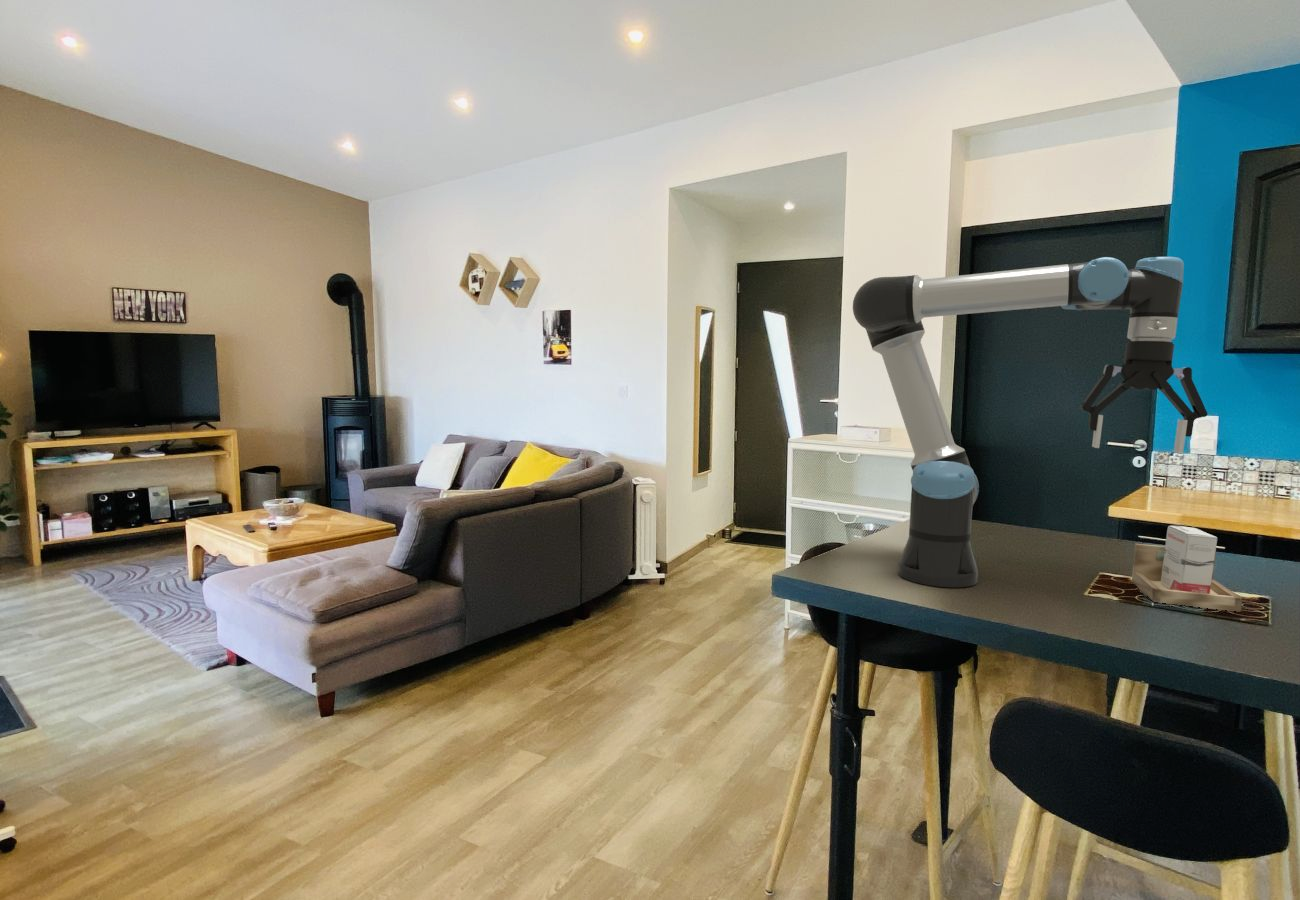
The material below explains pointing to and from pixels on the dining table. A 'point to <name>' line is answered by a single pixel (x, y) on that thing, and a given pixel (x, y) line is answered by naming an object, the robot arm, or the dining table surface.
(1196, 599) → the drawer
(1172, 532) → the ink box
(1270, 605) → the dining table surface
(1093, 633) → the dining table surface
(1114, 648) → the dining table surface
